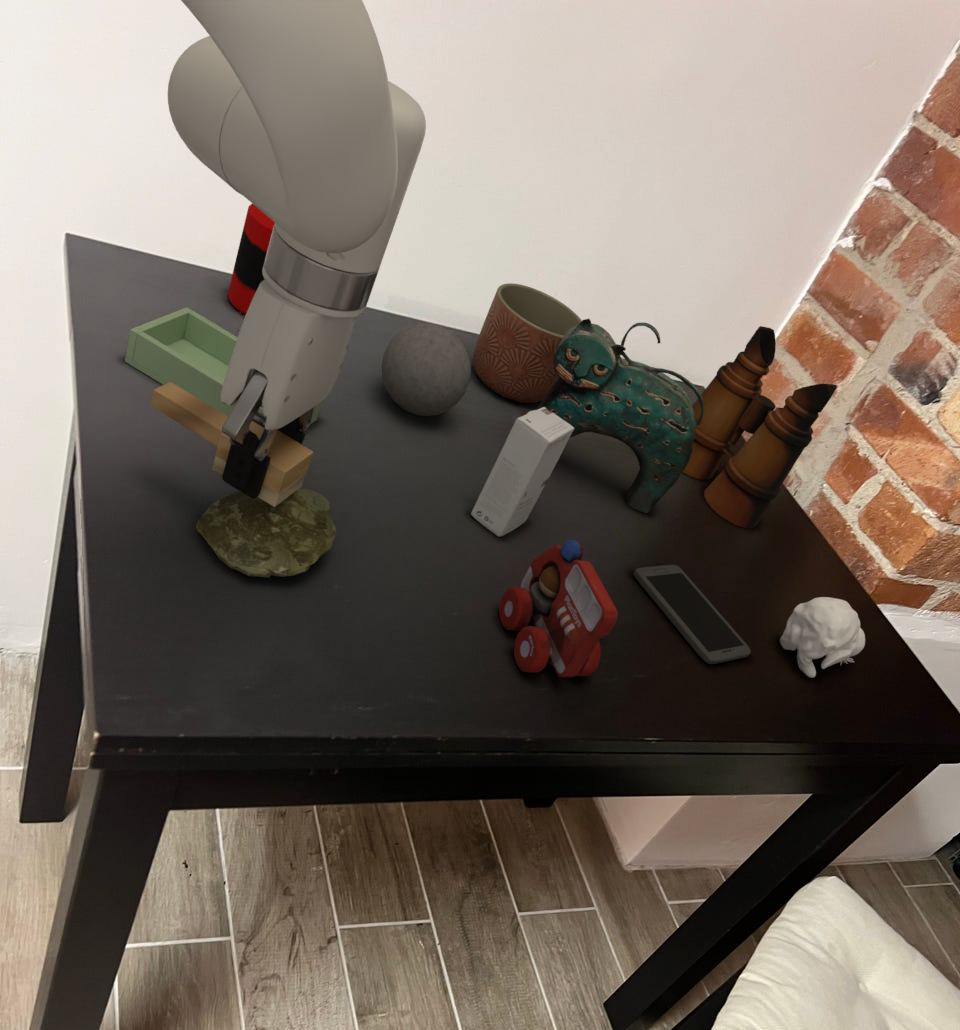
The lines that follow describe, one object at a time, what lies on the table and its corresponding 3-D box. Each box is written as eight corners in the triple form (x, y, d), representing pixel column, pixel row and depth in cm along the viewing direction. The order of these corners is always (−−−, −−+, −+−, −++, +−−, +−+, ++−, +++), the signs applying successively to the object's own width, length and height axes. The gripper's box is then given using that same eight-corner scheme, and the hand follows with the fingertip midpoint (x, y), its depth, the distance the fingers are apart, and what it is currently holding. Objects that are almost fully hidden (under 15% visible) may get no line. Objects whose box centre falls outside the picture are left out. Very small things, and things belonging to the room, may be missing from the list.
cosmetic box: (500, 539, 94) (552, 444, 86) (466, 514, 94) (515, 417, 87) (527, 521, 98) (579, 428, 91) (495, 497, 99) (543, 403, 92)
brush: (138, 425, 74) (145, 387, 71) (172, 407, 77) (180, 370, 75) (273, 508, 73) (285, 472, 71) (302, 486, 77) (314, 451, 74)
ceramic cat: (503, 455, 106) (582, 299, 94) (510, 430, 111) (586, 279, 99) (653, 524, 109) (748, 382, 97) (652, 497, 114) (743, 359, 102)
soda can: (276, 293, 112) (302, 197, 104) (300, 327, 108) (329, 231, 101) (217, 285, 107) (240, 185, 100) (241, 321, 103) (267, 219, 96)
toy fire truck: (549, 601, 89) (599, 521, 83) (591, 698, 82) (651, 618, 75) (487, 593, 86) (534, 509, 80) (525, 693, 78) (581, 609, 72)
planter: (473, 346, 124) (506, 272, 117) (554, 387, 126) (591, 316, 119) (455, 381, 115) (489, 303, 108) (542, 425, 116) (582, 350, 109)
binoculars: (769, 527, 122) (866, 402, 110) (731, 529, 117) (829, 398, 105) (688, 442, 131) (769, 318, 119) (649, 441, 126) (731, 310, 114)
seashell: (176, 514, 74) (267, 432, 74) (202, 532, 81) (285, 456, 82) (261, 605, 73) (352, 521, 74) (280, 615, 81) (363, 538, 81)
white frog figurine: (812, 582, 96) (871, 588, 103) (760, 637, 100) (819, 640, 108) (850, 626, 92) (908, 629, 100) (794, 681, 97) (853, 680, 104)
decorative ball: (462, 438, 105) (497, 363, 99) (384, 427, 100) (416, 347, 94) (434, 389, 111) (465, 315, 105) (359, 376, 106) (387, 297, 99)
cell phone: (673, 567, 104) (676, 563, 103) (750, 657, 97) (754, 652, 96) (629, 572, 99) (633, 567, 99) (707, 666, 92) (711, 661, 92)
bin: (124, 361, 89) (130, 328, 87) (180, 337, 96) (186, 306, 94) (271, 450, 88) (281, 420, 86) (316, 419, 95) (326, 390, 93)
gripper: (332, 223, 70) (273, 419, 82) (205, 266, 57) (155, 492, 68) (414, 272, 70) (343, 462, 81) (306, 327, 57) (240, 544, 68)
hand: (258, 474), depth 75 cm, fingers closed on brush, 4 cm apart
